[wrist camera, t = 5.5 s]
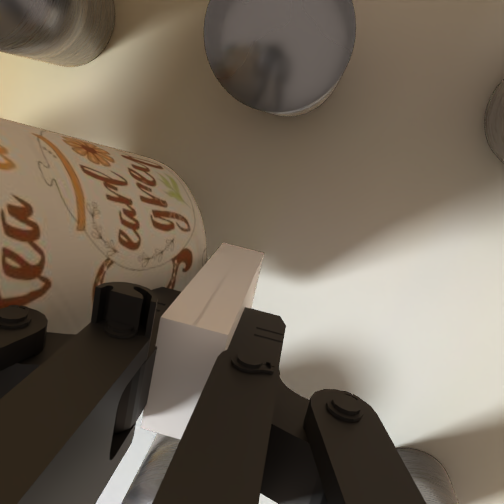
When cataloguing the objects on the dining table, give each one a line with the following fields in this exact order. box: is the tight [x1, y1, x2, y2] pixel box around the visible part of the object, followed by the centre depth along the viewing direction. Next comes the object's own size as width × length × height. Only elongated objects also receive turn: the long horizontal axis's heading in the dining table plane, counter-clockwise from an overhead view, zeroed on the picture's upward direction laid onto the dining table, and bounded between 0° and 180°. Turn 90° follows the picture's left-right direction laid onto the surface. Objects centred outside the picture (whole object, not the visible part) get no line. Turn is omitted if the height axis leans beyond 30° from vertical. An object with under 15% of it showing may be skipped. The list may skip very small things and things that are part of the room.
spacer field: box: [0, 0, 504, 504], centre depth 16 cm, size 20×19×5 cm
